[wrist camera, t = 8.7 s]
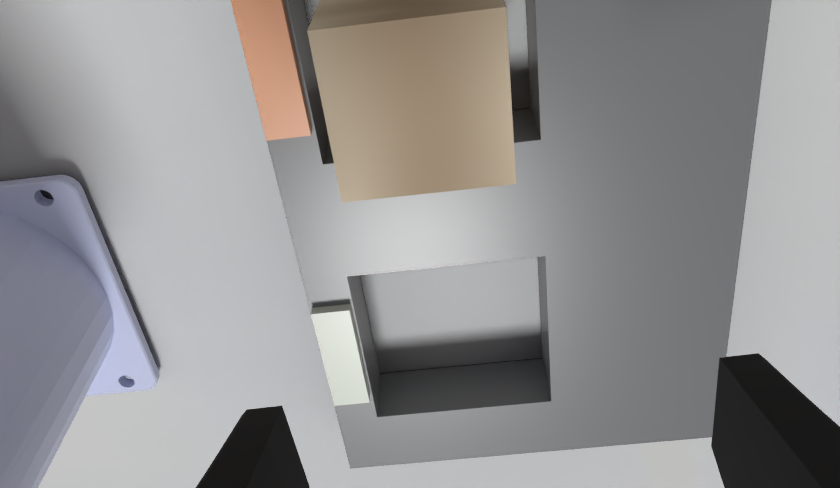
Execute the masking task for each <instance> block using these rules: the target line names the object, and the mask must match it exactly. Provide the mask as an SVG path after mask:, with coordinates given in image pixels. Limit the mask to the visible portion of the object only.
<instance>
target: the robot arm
mask: <svg viewBox="0 0 840 488" xmlns="http://www.w3.org/2000/svg"><path fill="white" fill-rule="evenodd" d="M40 190H45V191H47V192H49V193H50V194H51V195H52V196H53V199H47V198H46V197H44V196H43V195H42V194H41V192H40ZM125 376H129V377H131V378H132V379H128V378H126V377H125ZM158 378H159V371H158V368H157V366H156V363H155V361H154V359H153V356H152V354H151V351H150V349H149V347H148V344H147V342H146V339H145V337H144V334H143V332H142V330H141V327H140V325H139V322H138V320H137V318H136V315H135V313H134V310H133V308H132V306H131V303H130V301H129V298H128V296H127V294H126V291H125V289H124V286H123V284H122V282H121V279H120V277H119V274H118V272H117V269H116V267H115V265H114V262H113V260H112V257H111V255H110V253H109V250H108V248H107V245H106V243H105V241H104V238H103V236H102V233H101V231H100V229H99V226H98V224H97V221H96V219H95V217H94V214H93V212H92V209H91V207H90V204H89V202H88V200H87V197H86V195H85V192H84V190H83V188H82V186H81V185H80V183H79V182H78V181H76V180H75V179H74V178H72V177H70V176H67V175H53V176H44V177H35V178H27V179H18V180H9V181H0V488H38V486H39V484H40V483H41V481H42V479H43V477H44V475H45V473H46V471H47V469H48V467H49V465H50V463H51V461H52V459H53V457H54V456H55V454H56V452H57V450H58V448H59V446H60V444H61V442H62V440H63V438H64V436H65V434H66V432H67V430H68V429H69V427H70V425H71V423H72V421H73V419H74V417H75V415H76V413H77V411H78V409H79V407H80V405H81V403H82V402H83V400H84V398H85V396H91V395H101V394H112V393H122V392H133V391H143V390H149V389H152V388H153V387H155V386H156V383H157V381H158ZM711 446H712V449H713V453H714V456H715V459H716V462H717V465H718V468H719V472H720V475H721V478H722V481H723V484H724V487H725V488H840V427H839V426H838V425H837V424H836V423H835V422H834V421H833V420H831V419H830V418H829V417H828V416H827V415H826V414H825V413H823V412H822V411H821V410H820V409H819V408H818V407H817V406H816V405H815V404H813V403H812V402H811V401H810V400H809V399H808V398H807V397H806V396H805V395H804V394H802V393H801V392H800V391H799V390H798V389H797V388H796V387H795V386H794V385H793V384H792V383H791V382H789V381H788V380H787V379H786V378H785V377H784V376H783V375H782V374H781V373H780V372H779V371H778V370H776V369H775V368H774V367H773V366H772V365H771V364H770V363H769V362H768V361H767V360H766V359H765V358H763V357H762V356H761V355H760V354H749V355H740V356H731V357H722V358H719V368H718V379H717V390H716V401H715V412H714V423H713V434H712V445H711ZM196 488H309V484H308V481H307V478H306V475H305V472H304V469H303V466H302V464H301V461H300V458H299V455H298V452H297V449H296V446H295V443H294V440H293V437H292V434H291V431H290V428H289V425H288V422H287V419H286V416H285V413H284V411H283V408H282V406H276V407H267V408H258V409H249V410H246V411H245V413H244V414H243V415H242V416H241V418H240V419H239V421H238V423H237V424H236V426H235V427H234V429H233V431H232V432H231V434H230V435H229V437H228V439H227V440H226V442H225V443H224V445H223V447H222V448H221V450H220V451H219V453H218V454H217V456H216V458H215V459H214V461H213V462H212V464H211V465H210V467H209V468H208V470H207V472H206V473H205V475H204V476H203V478H202V479H201V481H200V482H199V484H198V485H197V487H196Z"/></svg>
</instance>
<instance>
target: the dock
mask: <svg viewBox="0 0 840 488" xmlns="http://www.w3.org/2000/svg"><path fill="white" fill-rule="evenodd" d="M771 1H772V0H526V17H527V39H528V60H529V82H530V103H531V108H529V109H520V110H512V118H513V135H514V153H515V170H516V184H513V185H504V186H494V187H485V188H475V189H466V190H456V191H447V192H438V193H428V194H419V195H409V196H400V197H390V198H381V199H371V200H362V201H352V202H343V203H342V201H341V196H340V191H339V186H338V181H337V176H336V171H335V166H334V161H333V156H332V151H331V146H330V141H329V136H328V132H327V127H326V122H325V117H324V112H323V107H322V102H321V97H320V92H319V87H318V82H317V77H316V72H315V67H314V62H313V58H312V53H311V48H310V43H309V38H308V33H307V30H308V27H309V24H308V19H307V14H306V9H305V4H304V0H231V3H232V7H233V11H234V15H235V19H236V23H237V27H238V31H239V35H240V39H241V42H242V46H243V50H244V54H245V58H246V62H247V66H248V70H249V74H250V78H251V82H252V86H253V89H254V93H255V97H256V101H257V105H258V109H259V113H260V117H261V121H262V125H263V129H264V133H265V136H266V140H267V143H268V147H269V151H270V155H271V159H272V163H273V167H274V171H275V175H276V178H277V182H278V186H279V190H280V194H281V198H282V202H283V206H284V210H285V214H286V218H287V222H288V225H289V229H290V233H291V237H292V241H293V245H294V249H295V253H296V257H297V261H298V265H299V269H300V273H301V276H302V280H303V284H304V288H305V292H306V296H307V300H308V304H309V308H310V312H311V317H312V321H313V324H314V328H315V332H316V336H317V340H318V344H319V348H320V352H321V356H322V360H323V364H324V368H325V371H326V375H327V379H328V383H329V387H330V391H331V395H332V399H333V403H334V406H335V410H336V414H337V418H338V421H339V425H340V429H341V433H342V437H343V441H344V445H345V449H346V453H347V457H348V461H349V465H350V468H361V467H372V466H384V465H395V464H407V463H418V462H430V461H441V460H453V459H464V458H476V457H487V456H499V455H511V454H522V453H534V452H545V451H557V450H568V449H580V448H591V447H603V446H614V445H626V444H637V443H649V442H661V441H672V440H684V439H695V438H707V437H712V434H713V423H714V412H715V401H716V390H717V379H718V368H719V358H722V357H726V353H727V346H728V338H729V330H730V322H731V314H732V306H733V299H734V291H735V283H736V275H737V267H738V259H739V251H740V244H741V236H742V228H743V220H744V212H745V204H746V197H747V189H748V181H749V173H750V165H751V157H752V150H753V142H754V134H755V126H756V118H757V110H758V102H759V95H760V87H761V79H762V71H763V63H764V55H765V48H766V40H767V32H768V24H769V16H770V8H771ZM533 257H538V275H539V297H540V318H541V340H542V359H532V360H521V361H511V362H500V363H489V364H479V365H468V366H458V367H447V368H437V369H426V370H415V371H405V372H394V373H384V374H380V372H379V368H378V363H377V358H376V353H375V348H374V343H373V338H372V333H371V328H370V323H369V318H368V314H367V309H366V304H365V299H364V294H363V289H362V284H361V279H360V275H368V274H377V273H387V272H397V271H406V270H416V269H426V268H436V267H445V266H455V265H465V264H474V263H484V262H494V261H503V260H513V259H523V258H533Z"/></svg>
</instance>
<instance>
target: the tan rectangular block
mask: <svg viewBox="0 0 840 488" xmlns="http://www.w3.org/2000/svg"><path fill="white" fill-rule="evenodd" d="M307 33H308V38H309V43H310V48H311V53H312V58H313V62H314V67H315V72H316V77H317V82H318V87H319V92H320V97H321V102H322V107H323V112H324V117H325V122H326V127H327V132H328V136H329V141H330V146H331V151H332V156H333V161H334V166H335V171H336V176H337V181H338V186H339V191H340V196H341V201H342V203H343V202H352V201H362V200H371V199H381V198H390V197H400V196H409V195H419V194H428V193H438V192H447V191H456V190H466V189H475V188H485V187H494V186H504V185H513V184H516V170H515V153H514V135H513V118H512V100H511V83H510V65H509V48H508V30H507V13H506V5H505V2H504V0H319V3H318V5H317V8H316V10H315V13H314V15H313V18H312V20H311V22H310V25H309V27H308V30H307Z"/></svg>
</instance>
